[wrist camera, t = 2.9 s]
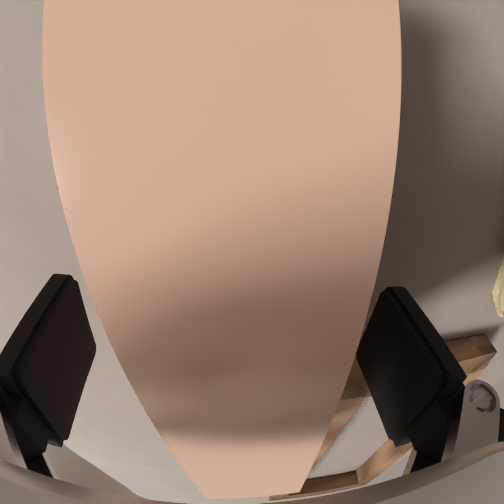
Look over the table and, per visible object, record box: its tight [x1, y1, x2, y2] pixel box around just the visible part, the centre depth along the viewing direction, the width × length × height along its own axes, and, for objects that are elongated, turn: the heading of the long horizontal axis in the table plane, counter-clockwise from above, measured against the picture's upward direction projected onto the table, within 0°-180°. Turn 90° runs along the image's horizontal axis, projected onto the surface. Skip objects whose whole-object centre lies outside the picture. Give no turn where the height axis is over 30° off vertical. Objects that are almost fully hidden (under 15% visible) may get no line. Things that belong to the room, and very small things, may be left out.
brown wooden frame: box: [269, 334, 497, 500], centre depth 18 cm, size 22×10×2 cm, turn 174°
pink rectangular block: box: [42, 0, 401, 499], centre depth 8 cm, size 16×4×6 cm, turn 1°
